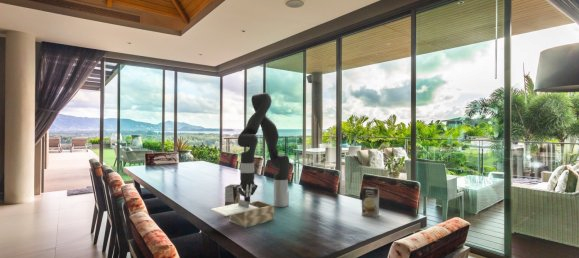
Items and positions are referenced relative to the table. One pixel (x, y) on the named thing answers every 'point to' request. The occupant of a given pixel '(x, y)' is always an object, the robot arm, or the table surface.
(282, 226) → the table surface
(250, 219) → the wooden box
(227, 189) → the coffee box
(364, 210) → the coffee box
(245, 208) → the lid
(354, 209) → the table surface
